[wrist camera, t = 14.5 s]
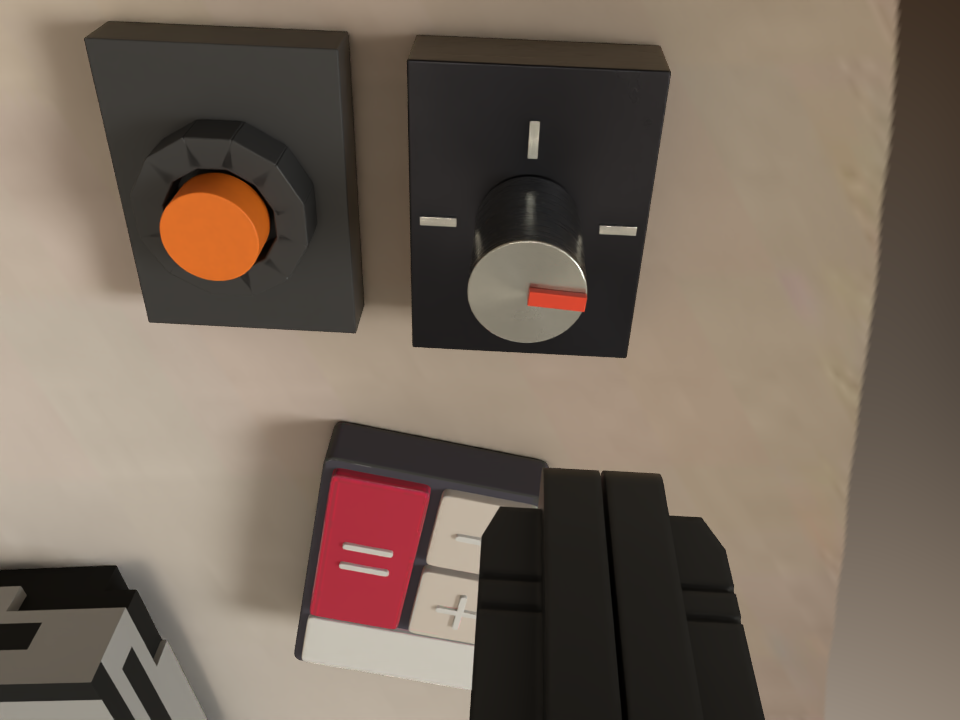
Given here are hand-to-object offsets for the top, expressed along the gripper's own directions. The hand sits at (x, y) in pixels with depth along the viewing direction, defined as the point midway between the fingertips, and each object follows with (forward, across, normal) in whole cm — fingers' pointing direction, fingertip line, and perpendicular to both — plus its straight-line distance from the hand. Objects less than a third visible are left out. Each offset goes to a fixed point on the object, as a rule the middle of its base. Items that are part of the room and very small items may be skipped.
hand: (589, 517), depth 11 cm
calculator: (+25, +5, +28) cm, 38 cm away
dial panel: (+25, 0, +7) cm, 26 cm away
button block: (+25, +12, +7) cm, 29 cm away
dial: (+22, +1, +7) cm, 23 cm away
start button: (+21, +12, +7) cm, 26 cm away
